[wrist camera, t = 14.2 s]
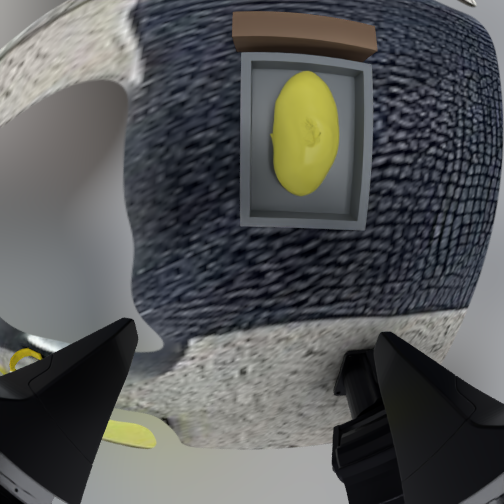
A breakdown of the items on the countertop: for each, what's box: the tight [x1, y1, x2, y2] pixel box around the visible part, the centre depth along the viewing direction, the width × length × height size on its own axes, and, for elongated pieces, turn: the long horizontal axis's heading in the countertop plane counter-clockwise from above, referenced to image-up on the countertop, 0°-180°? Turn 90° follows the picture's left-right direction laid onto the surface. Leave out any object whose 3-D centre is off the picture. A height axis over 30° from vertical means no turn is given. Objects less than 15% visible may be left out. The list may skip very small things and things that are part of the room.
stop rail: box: [232, 11, 377, 62], centre depth 13 cm, size 2×9×3 cm, turn 89°
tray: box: [240, 52, 373, 231], centre depth 16 cm, size 11×8×2 cm
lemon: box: [270, 71, 339, 196], centre depth 15 cm, size 4×8×4 cm, turn 172°
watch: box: [9, 348, 43, 372], centre depth 25 cm, size 6×3×6 cm, turn 83°
